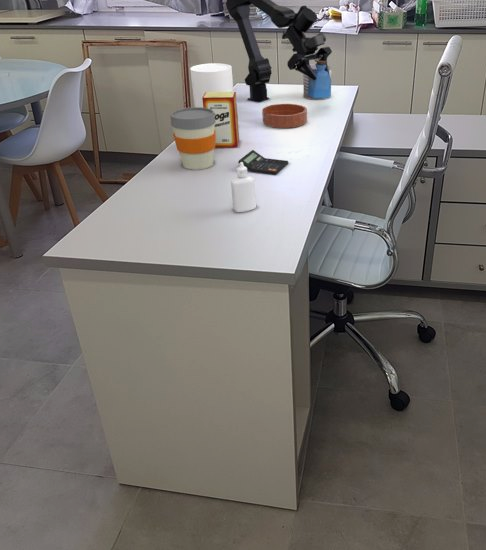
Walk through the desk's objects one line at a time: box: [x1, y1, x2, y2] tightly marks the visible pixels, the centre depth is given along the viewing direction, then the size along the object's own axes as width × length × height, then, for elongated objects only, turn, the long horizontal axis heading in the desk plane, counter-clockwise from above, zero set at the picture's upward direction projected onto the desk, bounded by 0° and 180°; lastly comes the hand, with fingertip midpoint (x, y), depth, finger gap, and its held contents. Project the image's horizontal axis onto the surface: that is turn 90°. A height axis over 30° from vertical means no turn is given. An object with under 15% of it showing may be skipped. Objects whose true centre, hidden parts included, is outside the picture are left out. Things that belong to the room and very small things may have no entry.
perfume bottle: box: [308, 61, 332, 99], centre depth 205 cm, size 6×6×12 cm
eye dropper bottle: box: [230, 162, 257, 213], centre depth 137 cm, size 4×6×12 cm
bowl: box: [261, 103, 308, 129], centre depth 201 cm, size 16×16×4 cm
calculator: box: [237, 149, 289, 176], centre depth 164 cm, size 9×12×3 cm
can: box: [302, 63, 332, 101], centre depth 229 cm, size 11×11×12 cm
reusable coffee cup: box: [170, 106, 216, 170], centre depth 164 cm, size 13×13×15 cm
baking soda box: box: [202, 91, 240, 149], centre depth 179 cm, size 10×6×16 cm
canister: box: [189, 62, 234, 108], centre depth 193 cm, size 14×14×20 cm
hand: (322, 77), depth 203 cm, fingers closed on perfume bottle, 7 cm apart
